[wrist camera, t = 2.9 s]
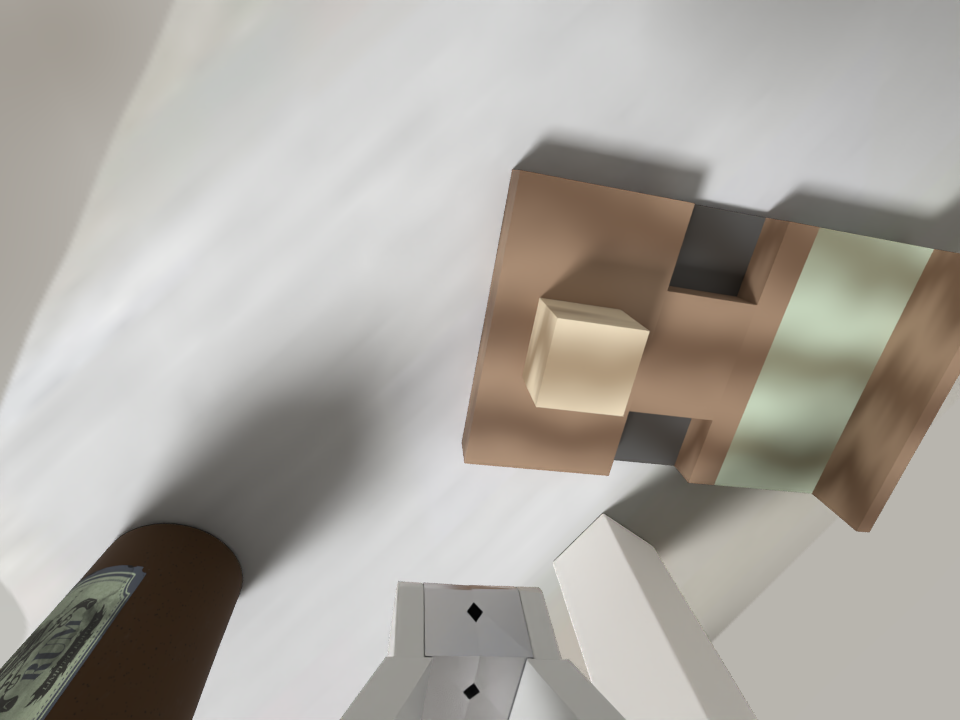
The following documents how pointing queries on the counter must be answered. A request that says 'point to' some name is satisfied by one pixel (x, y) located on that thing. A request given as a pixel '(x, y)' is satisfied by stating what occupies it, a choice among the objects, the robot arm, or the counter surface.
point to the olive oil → (129, 633)
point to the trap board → (721, 344)
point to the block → (583, 357)
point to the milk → (642, 631)
